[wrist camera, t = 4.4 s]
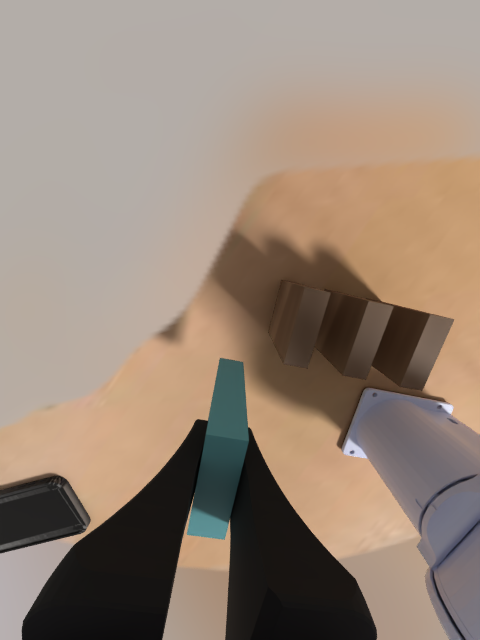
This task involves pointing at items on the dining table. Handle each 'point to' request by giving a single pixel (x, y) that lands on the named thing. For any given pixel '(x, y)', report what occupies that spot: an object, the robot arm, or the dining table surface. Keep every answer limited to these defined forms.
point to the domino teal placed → (221, 453)
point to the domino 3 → (410, 345)
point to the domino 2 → (352, 332)
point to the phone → (40, 513)
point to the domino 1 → (297, 322)
